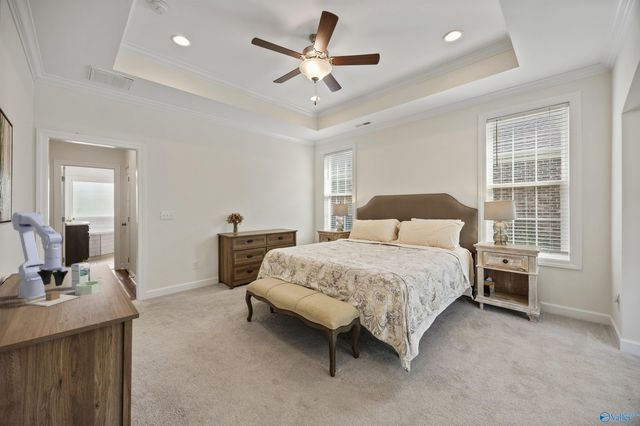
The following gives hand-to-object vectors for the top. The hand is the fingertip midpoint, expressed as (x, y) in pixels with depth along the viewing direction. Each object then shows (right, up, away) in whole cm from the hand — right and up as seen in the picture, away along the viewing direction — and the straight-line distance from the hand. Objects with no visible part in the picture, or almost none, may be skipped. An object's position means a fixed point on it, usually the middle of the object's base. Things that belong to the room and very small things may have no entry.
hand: (52, 285), depth 128 cm
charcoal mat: (0, -8, 0) cm, 8 cm away
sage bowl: (+6, -8, +13) cm, 16 cm away
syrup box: (-5, -8, +21) cm, 23 cm away
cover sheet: (0, -8, 0) cm, 8 cm away
